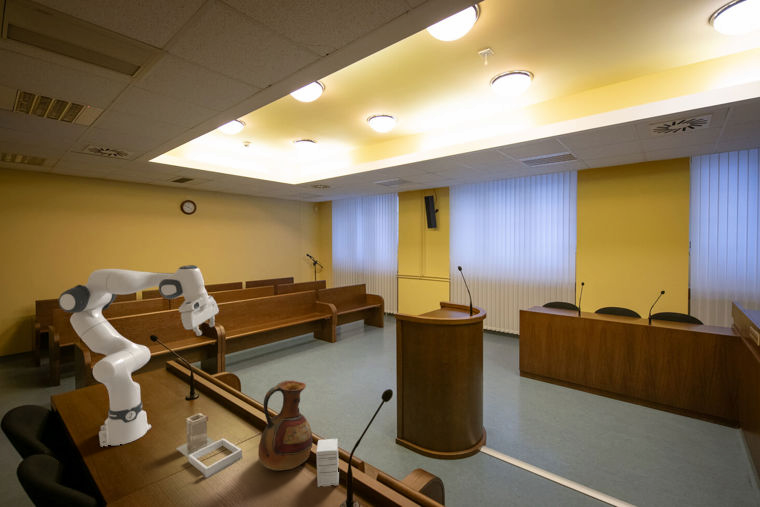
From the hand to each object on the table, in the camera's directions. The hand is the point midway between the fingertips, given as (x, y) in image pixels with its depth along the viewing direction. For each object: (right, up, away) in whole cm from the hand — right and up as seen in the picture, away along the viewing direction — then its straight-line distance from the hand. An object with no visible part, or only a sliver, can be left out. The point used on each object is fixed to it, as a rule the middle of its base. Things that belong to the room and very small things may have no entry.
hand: (206, 330), depth 150 cm
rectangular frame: (+13, -47, -18) cm, 52 cm away
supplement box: (+59, -46, -30) cm, 81 cm away
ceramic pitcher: (+41, -47, -19) cm, 65 cm away
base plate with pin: (+1, -47, -9) cm, 48 cm away
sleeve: (+1, -46, -9) cm, 47 cm away
